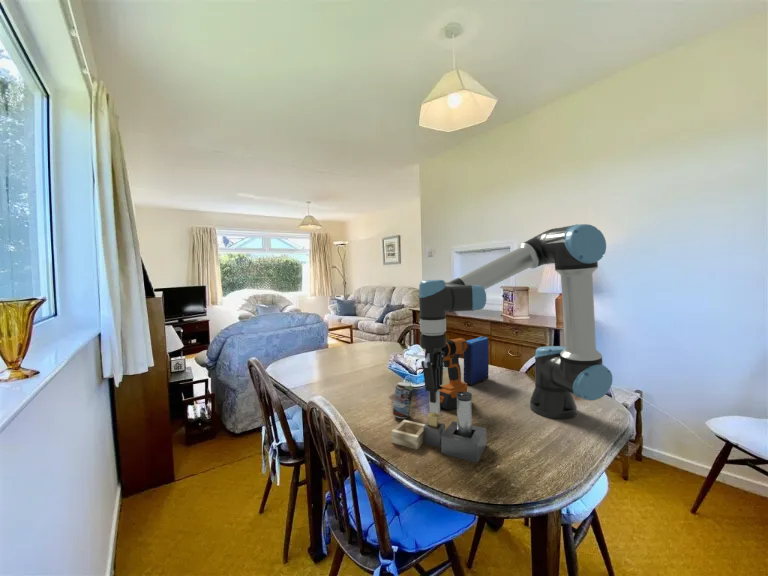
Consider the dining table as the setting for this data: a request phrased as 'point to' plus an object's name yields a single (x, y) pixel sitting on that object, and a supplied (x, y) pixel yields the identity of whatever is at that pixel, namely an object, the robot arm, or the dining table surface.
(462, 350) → the power drill
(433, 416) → the tan wooden peg
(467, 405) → the capped tube
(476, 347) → the book
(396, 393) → the beverage can
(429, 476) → the dining table surface
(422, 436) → the wooden tray
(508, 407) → the dining table surface
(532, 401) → the robot arm
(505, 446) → the dining table surface
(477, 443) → the socket block
